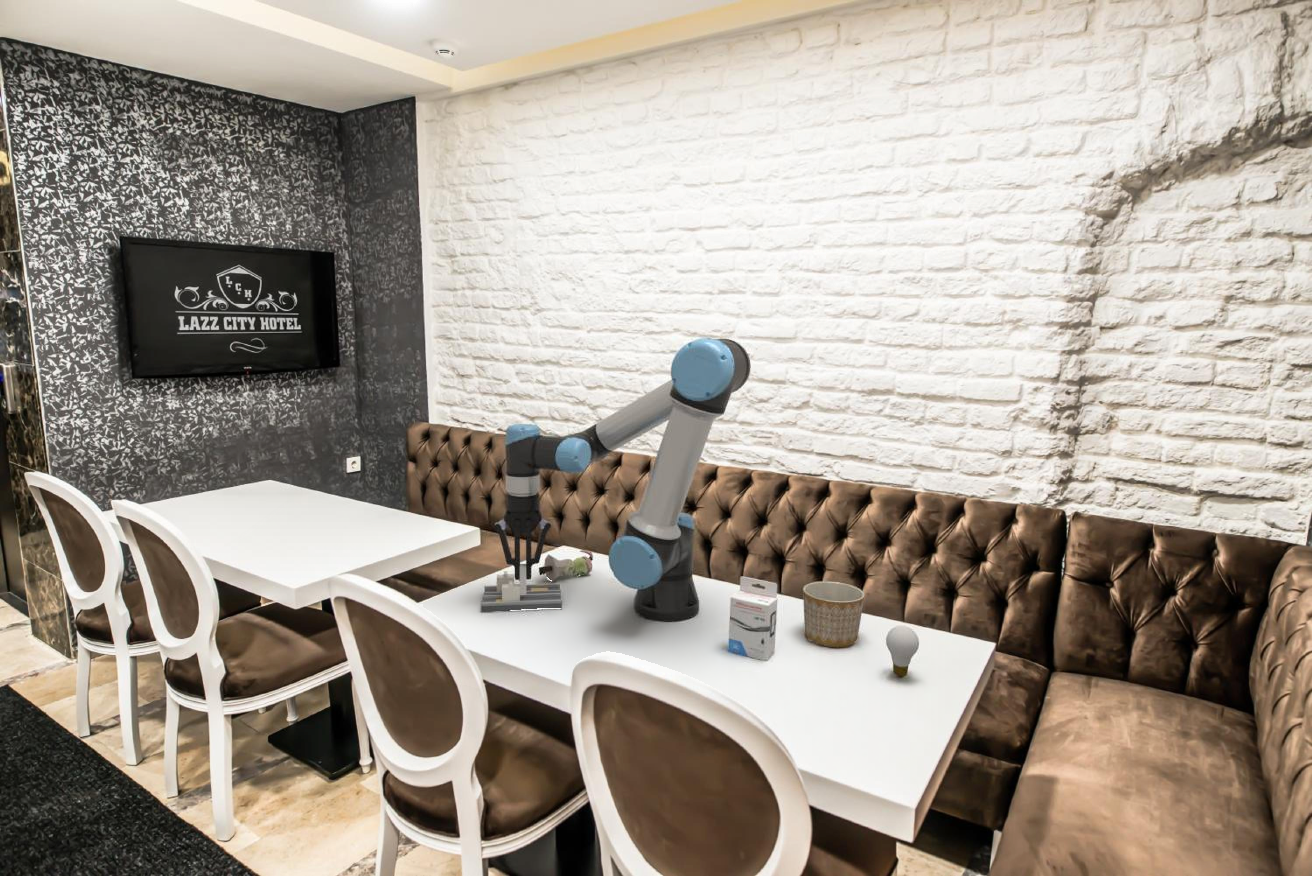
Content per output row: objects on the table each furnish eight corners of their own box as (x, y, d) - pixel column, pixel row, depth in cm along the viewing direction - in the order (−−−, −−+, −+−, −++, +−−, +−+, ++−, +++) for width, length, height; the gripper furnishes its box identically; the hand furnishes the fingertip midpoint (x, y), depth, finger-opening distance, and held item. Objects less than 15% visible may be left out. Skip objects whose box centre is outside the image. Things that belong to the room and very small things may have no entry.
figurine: (550, 582, 186) (603, 575, 195) (546, 552, 188) (599, 547, 196) (536, 585, 193) (587, 578, 202) (533, 556, 195) (584, 551, 203)
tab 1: (514, 588, 181) (514, 570, 181) (513, 591, 179) (513, 574, 178) (497, 588, 181) (497, 571, 180) (496, 592, 178) (496, 574, 178)
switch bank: (559, 591, 185) (559, 583, 184) (561, 609, 173) (561, 600, 173) (484, 594, 182) (484, 585, 181) (481, 612, 170) (481, 603, 170)
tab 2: (520, 598, 175) (519, 580, 174) (519, 601, 172) (519, 583, 172) (502, 598, 174) (502, 580, 173) (502, 602, 172) (501, 584, 171)
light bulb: (890, 667, 147) (894, 618, 145) (920, 676, 143) (924, 626, 142) (878, 677, 142) (882, 627, 141) (909, 687, 138) (913, 635, 137)
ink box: (726, 652, 152) (729, 582, 150) (736, 643, 156) (739, 575, 154) (766, 661, 148) (769, 590, 146) (775, 652, 152) (779, 582, 150)
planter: (812, 622, 169) (814, 577, 167) (868, 635, 162) (871, 588, 161) (791, 641, 158) (794, 593, 156) (851, 656, 151) (854, 606, 150)
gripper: (551, 488, 175) (551, 586, 178) (494, 489, 173) (495, 588, 176) (552, 495, 167) (552, 597, 171) (492, 496, 165) (493, 599, 169)
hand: (523, 592), depth 173 cm, fingers closed
